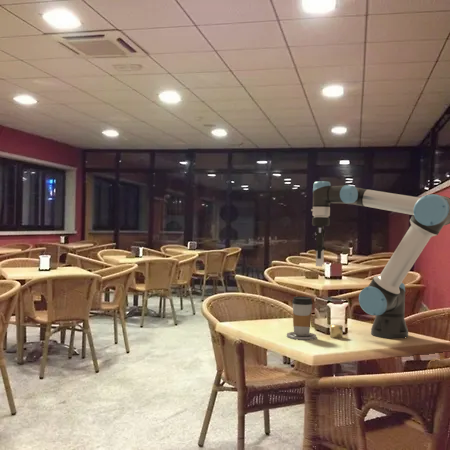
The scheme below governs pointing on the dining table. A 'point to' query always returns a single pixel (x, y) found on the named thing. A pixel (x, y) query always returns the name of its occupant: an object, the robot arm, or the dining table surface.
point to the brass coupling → (336, 331)
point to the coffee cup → (302, 315)
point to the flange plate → (308, 337)
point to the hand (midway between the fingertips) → (319, 265)
